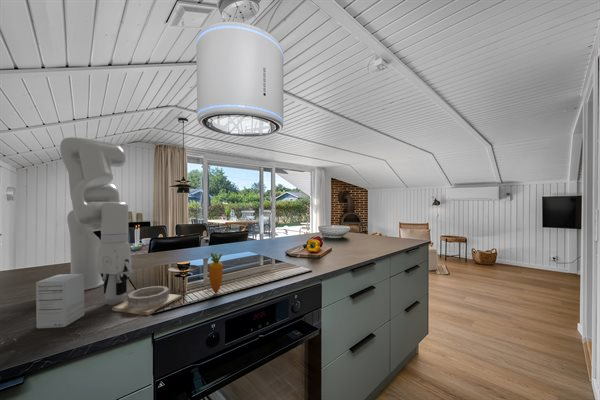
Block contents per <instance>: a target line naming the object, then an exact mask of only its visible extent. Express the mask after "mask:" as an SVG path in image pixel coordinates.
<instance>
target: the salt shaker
mask: <svg viewBox="0 0 600 400" xmlns="http://www.w3.org/2000/svg"><path fill="white" fill-rule="evenodd" d="M122 276H123V274H121V277H122ZM116 283H118V281H117V275H111V274H109V279H108V284H107V288H106V293H105V294H104V300H105V302H106V304H107V305H108V306H116V305H119V304H121V303H124V300H125V299H126V294H127V292H126V293H123V294H121V295H116Z"/></svg>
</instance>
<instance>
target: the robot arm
mask: <svg viewBox="0 0 600 400" xmlns="http://www.w3.org/2000/svg"><path fill="white" fill-rule="evenodd" d="M59 146H60V147H59V149H60V150H59V152H60V156H61V159H62V162H63V164H64V166H65V169H66V170H67V173H68V184H69V185H68V186H69V194H70V195H69V196H70V200H71V203H72V204H71V205H72V210H70V211H69V212H68V214H67V217H66V221H67V226H68V230H69V239H70V240H69V241H70V246H69V247H70V274H84V291H86V290H92V289H97V288H99V287H102V286H103V294H104V295H105V293H106V288H107V284H108V279H109V274H111V275H117V281H118V283H116V295H121V294H123V293H126V294H127V290H128V289H127V286H128V285H127V284H128V283H127V281H129V278H130V277H131V276H132V275H134V271H133V267H132V251H131V247H130V246H131V245H130V242H129V240H130V239H129V205H128V203H126V202H125V201H121V199H120V194H119V189H118V188H117V186H116V185H115V184H112V183H111V182H112V181H113V180H114V179H113V178H114V177H113V176H114V175H113V171H112V168H111V167H116V168H117V167H118V168H121V167H123V166H124V165H125V163H126V154H125V153H126V152H125V151H124V150H123V148H122V147H121V146H119V145H117V144H115V143H112V142H109V141H108V142H107V141H102V140H97V139H92V138H91V139H90V138H85V137H84V138H83V137H75V136H73V137H72V136H71V137H65V138H63V139H61V142H60V145H59ZM98 231H100V237H99V236H97V234H95V233H94V232H98ZM121 274H122V277H121Z"/></svg>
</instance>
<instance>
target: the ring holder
mask: <svg viewBox="0 0 600 400" xmlns="http://www.w3.org/2000/svg"><path fill="white" fill-rule="evenodd" d="M181 297H182V298H183V296H182V294H173V293H170V288H169V287H168V286H166V285H165V286H163V285H154V286H147V287H142V288H141V287H140V288H138V289H136V290H135V289H134V290H133V291H130V292H129V293H128V294H127V301H123V302H121V303H120V304H115V305H113V306H112V307H111V311H114V312H121V313H127V314H128V313H130V314H134V315H135V314H137V315H142V316H150V315H151V314H153V313H152V312H153V311H155V310H156V309H158V308H160V307H162V306H164V305H166V304H168V303H171V302H173V301H175V300H177V299H179V298H181ZM182 298H181V299H182ZM179 300H180V299H179ZM177 301H178V300H177ZM175 302H176V301H175ZM173 303H174V302H173ZM171 304H172V303H171Z"/></svg>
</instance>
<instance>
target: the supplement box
mask: <svg viewBox="0 0 600 400" xmlns="http://www.w3.org/2000/svg"><path fill="white" fill-rule="evenodd" d="M35 301H36V302H35V304H36V306H35V308H36V309H35V311H36V318H35V320H36V322H35V323H36V328H37V329H51V328H53V329H54V328H65V327H67V326H69V325H70V324H72V323H74V322H75V321H77V320H79V319H80V318H82V317H84V316H85V290H84V274H71V273H68V274H67V273H63V274H56V275H53V276H50V277H47V278H44V279H41V280H39V281H35Z"/></svg>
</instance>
